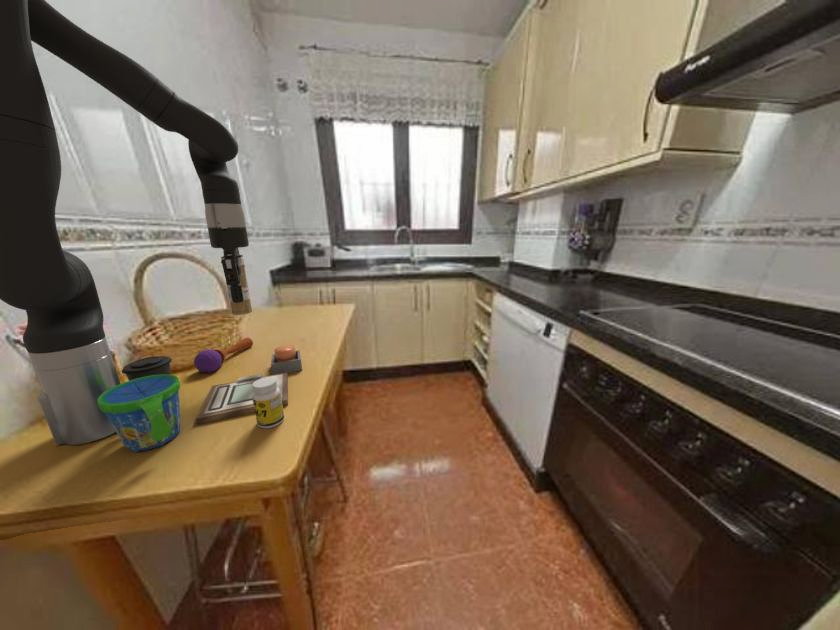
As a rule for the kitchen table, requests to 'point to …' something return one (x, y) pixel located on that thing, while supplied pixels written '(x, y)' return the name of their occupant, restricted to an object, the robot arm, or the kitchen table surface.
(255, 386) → the supplement bottle
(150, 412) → the snack cup
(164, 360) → the coffee cup
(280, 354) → the button
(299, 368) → the button collar
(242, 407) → the colouring board
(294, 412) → the kitchen table surface
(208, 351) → the kendama
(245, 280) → the spice bottle
